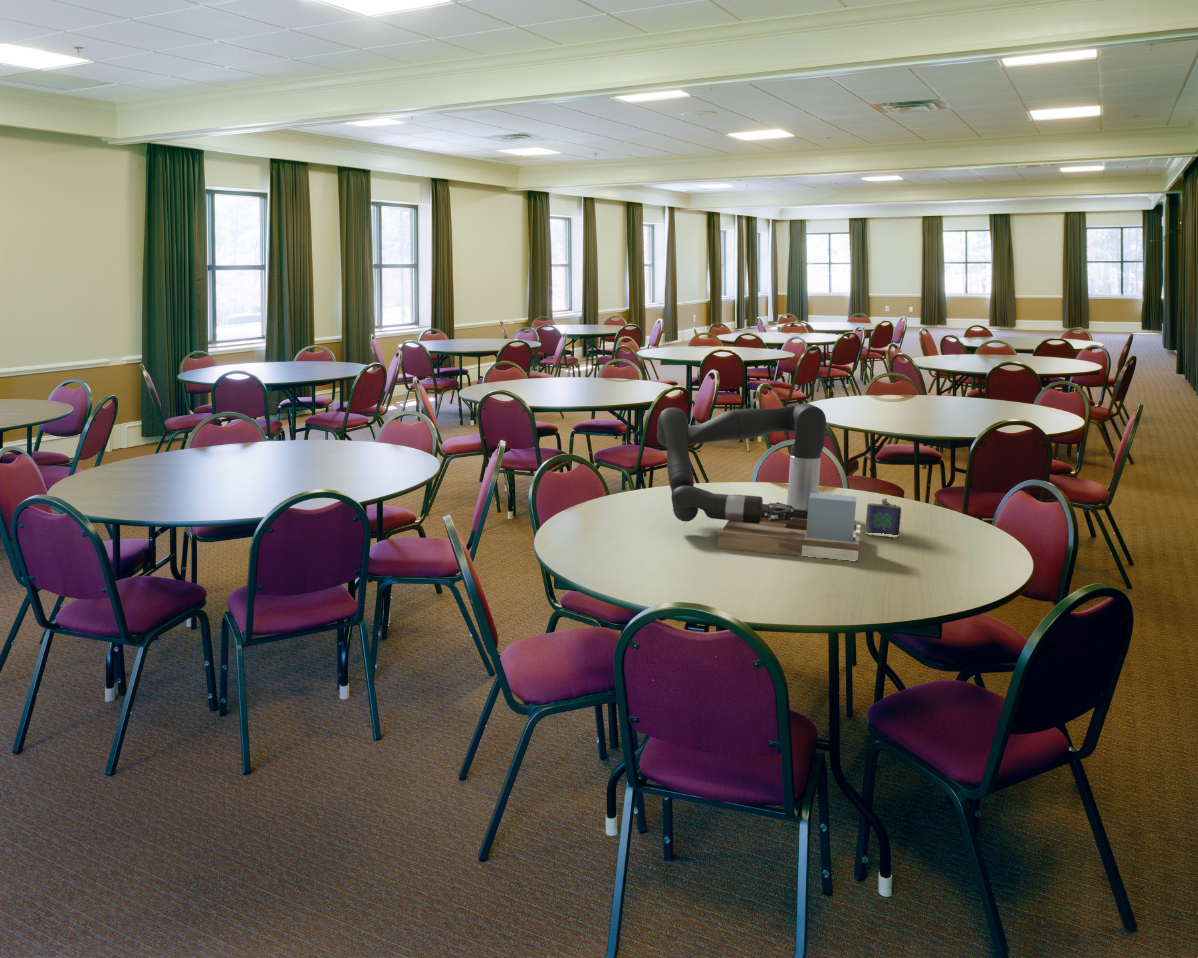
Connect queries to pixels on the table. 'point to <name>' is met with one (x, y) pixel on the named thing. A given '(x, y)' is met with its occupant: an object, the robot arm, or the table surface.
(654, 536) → the table surface
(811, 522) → the block
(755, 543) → the board
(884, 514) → the flask
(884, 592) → the table surface
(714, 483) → the table surface
